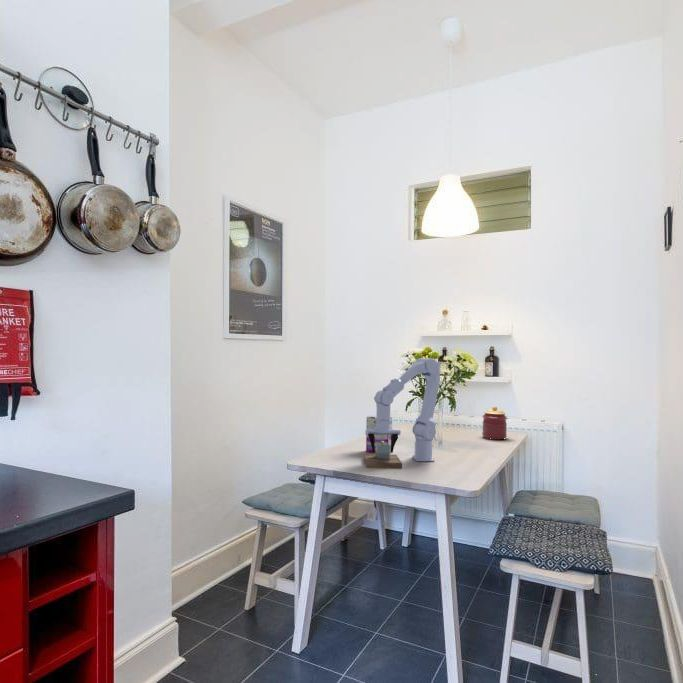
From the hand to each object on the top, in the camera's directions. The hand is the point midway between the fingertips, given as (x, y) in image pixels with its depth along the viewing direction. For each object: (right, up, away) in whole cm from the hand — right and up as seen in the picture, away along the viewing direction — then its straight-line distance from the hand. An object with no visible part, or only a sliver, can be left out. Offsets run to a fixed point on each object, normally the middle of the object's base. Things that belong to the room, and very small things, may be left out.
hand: (382, 452), depth 203 cm
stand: (0, -5, 0) cm, 5 cm away
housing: (0, -3, 0) cm, 3 cm away
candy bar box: (0, -5, +22) cm, 23 cm away
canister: (+68, -8, +66) cm, 95 cm away
